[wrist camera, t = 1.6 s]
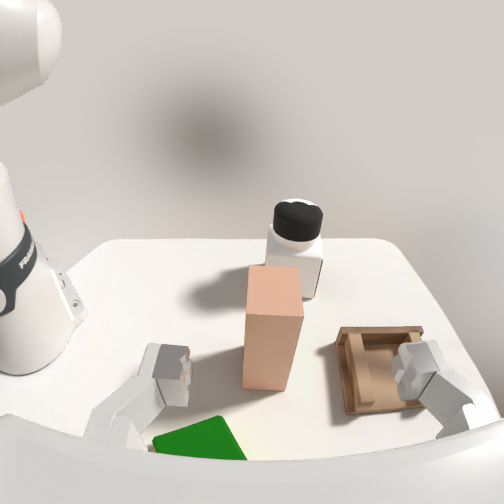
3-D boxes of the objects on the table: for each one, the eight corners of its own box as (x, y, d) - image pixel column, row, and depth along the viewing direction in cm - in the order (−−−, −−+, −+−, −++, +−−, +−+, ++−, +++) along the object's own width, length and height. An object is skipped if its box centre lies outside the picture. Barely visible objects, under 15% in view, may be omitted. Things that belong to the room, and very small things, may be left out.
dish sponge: (217, 567, 16) (216, 569, 15) (155, 445, 26) (150, 437, 25) (291, 536, 19) (296, 535, 18) (222, 423, 29) (221, 413, 27)
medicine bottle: (314, 299, 43) (331, 224, 36) (261, 295, 44) (269, 217, 36) (311, 266, 49) (325, 196, 42) (265, 262, 49) (271, 190, 42)
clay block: (284, 390, 32) (303, 316, 25) (241, 389, 32) (245, 313, 25) (283, 346, 37) (298, 267, 29) (244, 345, 37) (249, 264, 29)
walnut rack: (433, 404, 29) (445, 392, 28) (346, 414, 29) (354, 402, 28) (413, 339, 37) (421, 326, 36) (335, 341, 37) (340, 326, 36)
